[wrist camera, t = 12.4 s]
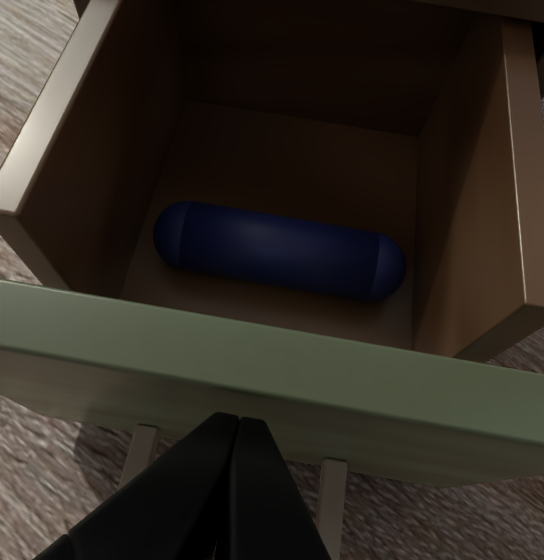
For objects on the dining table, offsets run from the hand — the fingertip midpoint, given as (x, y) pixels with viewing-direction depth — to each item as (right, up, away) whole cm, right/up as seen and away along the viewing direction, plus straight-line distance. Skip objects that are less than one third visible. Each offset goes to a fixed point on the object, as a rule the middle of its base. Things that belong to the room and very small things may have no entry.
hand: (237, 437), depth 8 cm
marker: (+1, +3, +7) cm, 7 cm away
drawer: (0, +2, +9) cm, 9 cm away
